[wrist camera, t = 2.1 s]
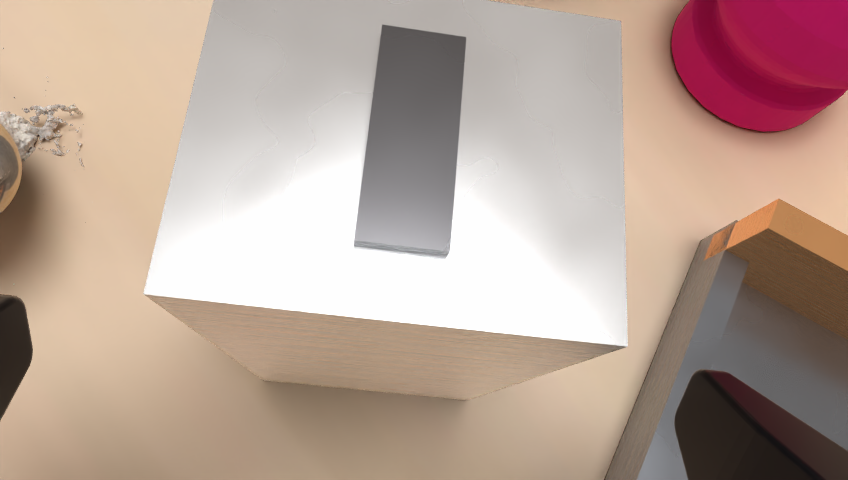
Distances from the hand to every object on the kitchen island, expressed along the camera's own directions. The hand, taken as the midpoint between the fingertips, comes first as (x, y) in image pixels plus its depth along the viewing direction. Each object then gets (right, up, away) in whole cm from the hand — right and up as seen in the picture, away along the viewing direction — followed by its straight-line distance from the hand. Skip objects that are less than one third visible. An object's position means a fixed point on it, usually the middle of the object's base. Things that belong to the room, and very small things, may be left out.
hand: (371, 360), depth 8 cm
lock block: (-1, 0, +10) cm, 10 cm away
